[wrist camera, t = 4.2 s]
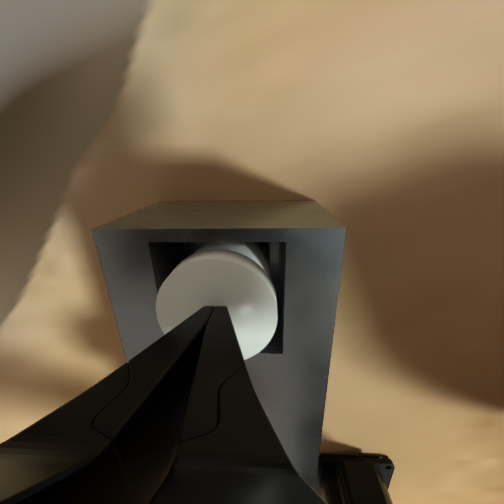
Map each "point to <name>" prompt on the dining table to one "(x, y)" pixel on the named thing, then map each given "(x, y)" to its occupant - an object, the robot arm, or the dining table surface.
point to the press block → (282, 276)
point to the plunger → (224, 291)
